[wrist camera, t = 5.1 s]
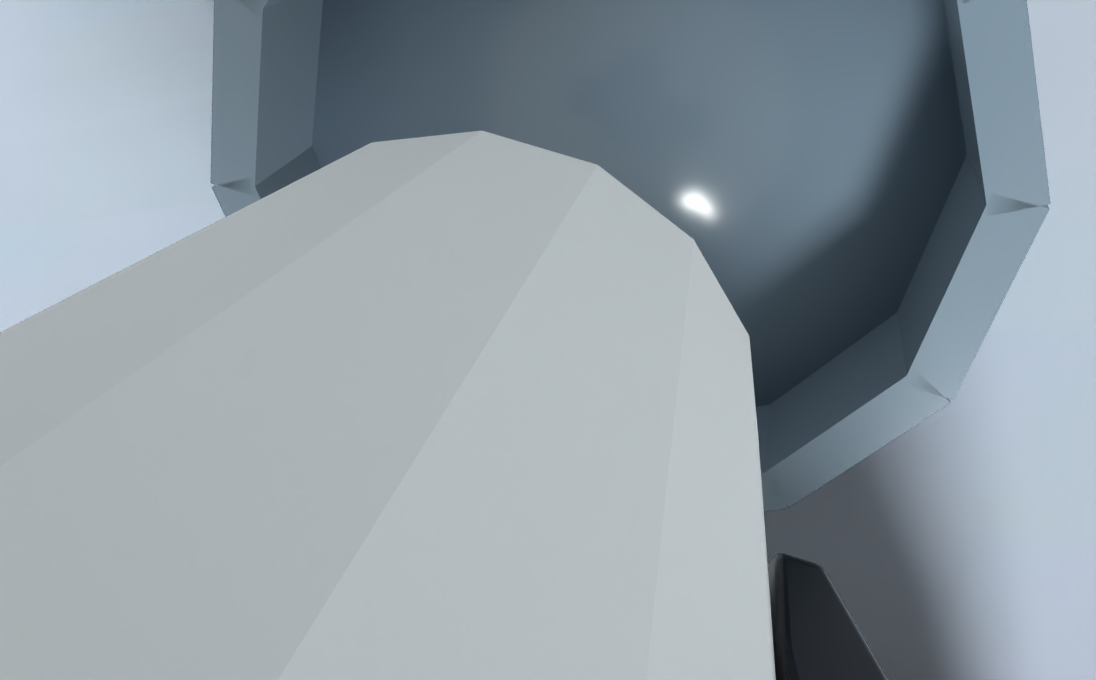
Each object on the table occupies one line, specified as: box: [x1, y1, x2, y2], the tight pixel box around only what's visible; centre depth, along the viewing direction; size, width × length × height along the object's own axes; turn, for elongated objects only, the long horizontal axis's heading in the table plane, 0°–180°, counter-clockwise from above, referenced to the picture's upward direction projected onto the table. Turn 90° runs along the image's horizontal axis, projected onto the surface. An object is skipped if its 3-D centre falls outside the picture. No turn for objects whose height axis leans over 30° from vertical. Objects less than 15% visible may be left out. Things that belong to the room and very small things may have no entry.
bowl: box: [211, 0, 1050, 511], centre depth 17 cm, size 13×13×3 cm
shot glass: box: [0, 131, 776, 680], centre depth 7 cm, size 7×7×7 cm
